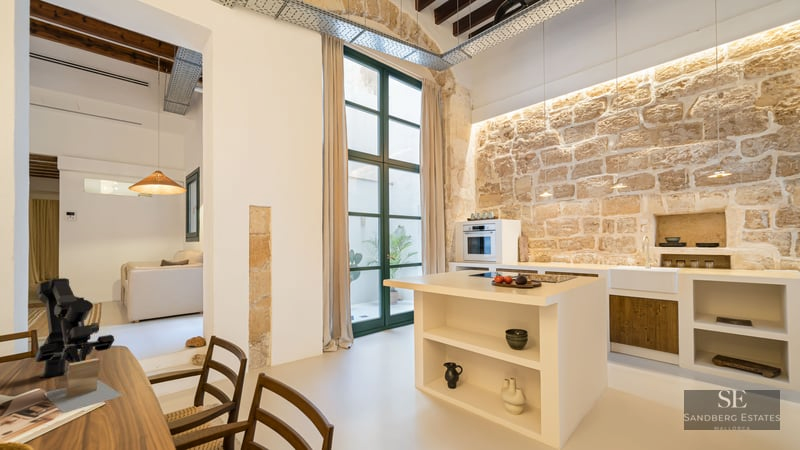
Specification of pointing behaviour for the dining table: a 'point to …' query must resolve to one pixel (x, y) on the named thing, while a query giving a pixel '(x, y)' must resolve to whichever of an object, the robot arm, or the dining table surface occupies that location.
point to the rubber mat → (81, 397)
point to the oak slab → (82, 377)
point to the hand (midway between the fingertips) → (81, 368)
